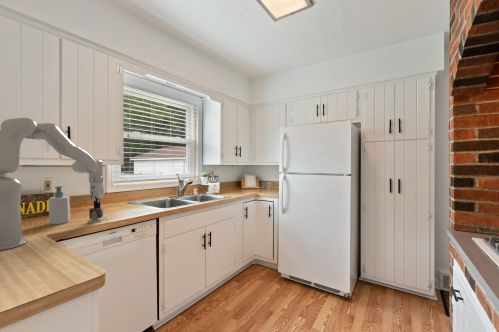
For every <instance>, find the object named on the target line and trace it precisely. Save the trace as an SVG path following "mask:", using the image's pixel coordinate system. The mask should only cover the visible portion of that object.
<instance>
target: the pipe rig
mask: <svg viewBox="0 0 499 332" xmlns="http://www.w3.org/2000/svg"><path fill="white" fill-rule="evenodd" d="M101 212H102V218H98V214H97V212H94V213H91V218H92V219H90V218H89V220H87V223H88V224H89V223H101V222H102V221H104V220H105V219H107V216H106V215H104V209H102V208H101Z"/></svg>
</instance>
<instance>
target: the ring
mask: <svg viewBox="0 0 499 332" xmlns="http://www.w3.org/2000/svg"><path fill="white" fill-rule="evenodd" d="M101 209H102V207H101V208H94V207H93V208H89V209H88V213H89V215H88V216H89V217H88V218H89V220H90V219H92V218H91V213H94V212H97V214H98V218H102V212H101Z"/></svg>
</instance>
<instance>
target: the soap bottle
mask: <svg viewBox="0 0 499 332" xmlns="http://www.w3.org/2000/svg"><path fill="white" fill-rule="evenodd" d="M62 188H63V186H62V185H61V186H60V185H58V186H55V187H54V189H55V190H56V192H54V196H51V197H49V198H48V200H47V201H48V216H49V217H48V218H49V221H48V222H49V225H61V224H67V223H69V222H70V221H71V203H70V202H71V201H70V198H71V197H70V196H69V195H64V192H63V191H62Z"/></svg>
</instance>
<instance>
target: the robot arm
mask: <svg viewBox="0 0 499 332" xmlns="http://www.w3.org/2000/svg"><path fill="white" fill-rule="evenodd" d="M24 139H29V140H39V141H41V140H45V142H47V144H48V145H50V146H51V147H52V149H54V151H56V152H57V153H58V154H60V155H61V156H64V157H67V158H70V159H73V160H74V161H73V163H72V165H71V168H72V170H73V172H76V173H79V174H80V173H81V174H88V183H89V198H90V199H92V200H91V201H92V202H93V208H101V209H102V207H101V199H102V198H103V197H104V196H105V188H104V170H103V169H104V167H103V161H102V160H101V159H99V160H98V159H94V158H93V157H92V155H90V154H89V153H88V152H87V151H86V150H84V149H82V148H81V147H79V146H78V145H76V144H74V143H73V142H72V141H71V139H70V138H68V136H67V135H66V134H65V133H64V132H63V131H62V130H61V129H60V128H59V127H58V126H57V125H56V124H55V123H54V124H53V123H51V122H49V123H48V122H45V123H37V122H36V121H35V120H33V119H31V118H29V117H16V118H9V119H8V118H7V119H5V120H3V121H2V122H1V124H0V251H3V250H8V249H14V248H17V247H20V246H23V245H25V244H26V243H27V242H28V239H27V238H24V237H23V226H22V224H23V223H22V210H21V209H22V207H21V206H22V205H21V199H22V197H21V196H22V192H23V186H22V183H21V182H20V181H19V180H18V179H16V178H15V177H12V176H7V175H8V174H14V173H15V172H17V171H18V169H19V167H20V154H21V152H20V151H21V145H22V142H23V140H24Z"/></svg>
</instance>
